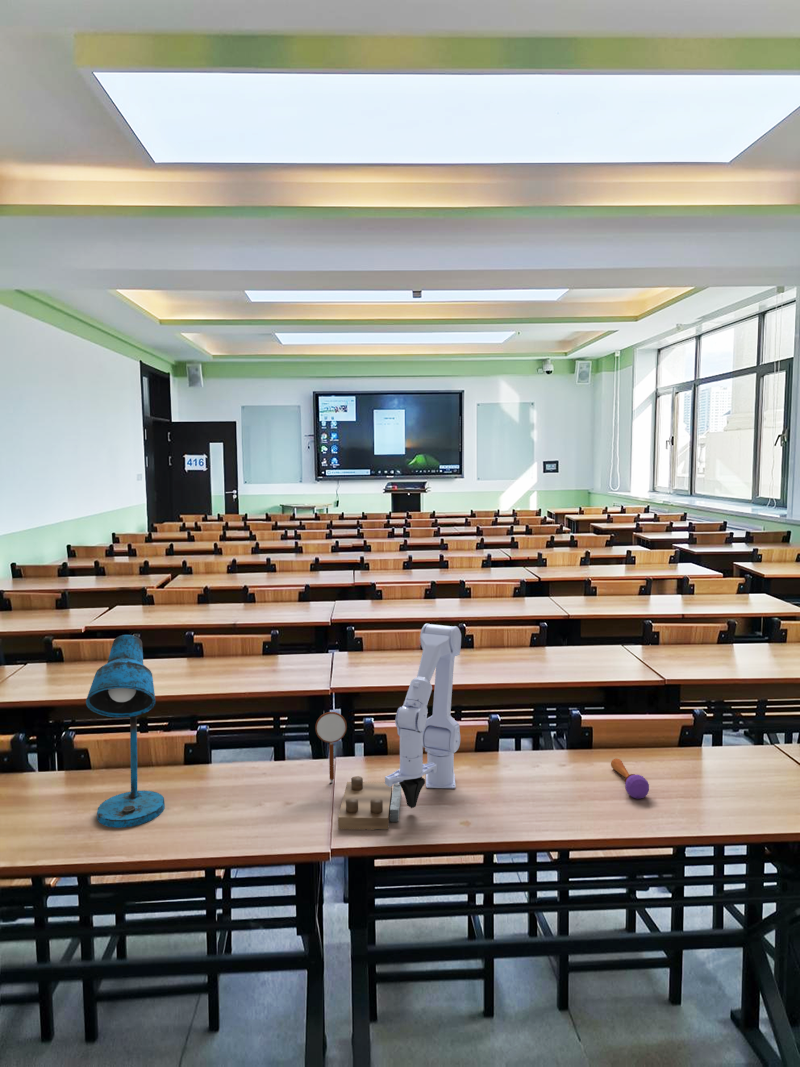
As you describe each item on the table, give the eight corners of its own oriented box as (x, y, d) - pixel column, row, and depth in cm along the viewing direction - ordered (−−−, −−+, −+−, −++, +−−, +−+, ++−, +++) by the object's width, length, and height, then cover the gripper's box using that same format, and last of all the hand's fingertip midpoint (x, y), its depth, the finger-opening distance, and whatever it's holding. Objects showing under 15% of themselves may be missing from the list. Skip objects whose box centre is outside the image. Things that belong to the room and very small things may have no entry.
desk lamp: (85, 841, 162) (76, 652, 158) (105, 798, 183) (97, 630, 179) (158, 834, 165) (151, 648, 161) (168, 792, 187) (162, 627, 182)
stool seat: (347, 792, 186) (347, 772, 186) (392, 793, 186) (392, 773, 185) (338, 829, 167) (337, 807, 167) (388, 830, 167) (387, 808, 166)
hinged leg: (394, 793, 185) (393, 780, 185) (401, 793, 185) (401, 780, 185) (390, 821, 170) (390, 807, 170) (398, 821, 170) (398, 807, 170)
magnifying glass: (347, 780, 194) (346, 710, 192) (347, 783, 192) (346, 712, 190) (316, 781, 193) (315, 711, 191) (316, 784, 191) (314, 713, 189)
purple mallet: (628, 755, 200) (654, 781, 180) (624, 776, 200) (650, 804, 180) (608, 752, 200) (631, 777, 180) (604, 772, 200) (627, 800, 180)
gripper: (425, 741, 181) (425, 792, 182) (378, 755, 173) (378, 807, 174) (441, 750, 175) (441, 802, 176) (393, 764, 167) (394, 819, 168)
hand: (411, 805), depth 175 cm, fingers closed
